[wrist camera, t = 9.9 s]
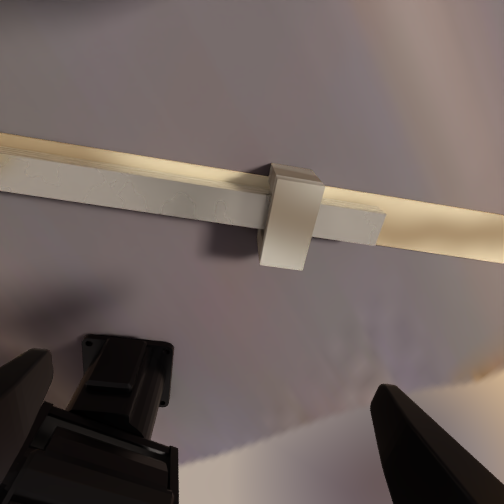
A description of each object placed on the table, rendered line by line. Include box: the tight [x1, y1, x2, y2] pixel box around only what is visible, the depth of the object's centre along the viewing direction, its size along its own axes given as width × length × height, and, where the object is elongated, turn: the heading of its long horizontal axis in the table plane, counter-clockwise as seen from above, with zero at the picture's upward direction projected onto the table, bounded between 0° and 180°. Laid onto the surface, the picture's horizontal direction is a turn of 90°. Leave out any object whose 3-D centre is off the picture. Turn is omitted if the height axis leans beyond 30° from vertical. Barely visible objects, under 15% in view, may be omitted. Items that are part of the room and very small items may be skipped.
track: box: [0, 133, 504, 270], centre depth 18 cm, size 5×54×4 cm, turn 80°
